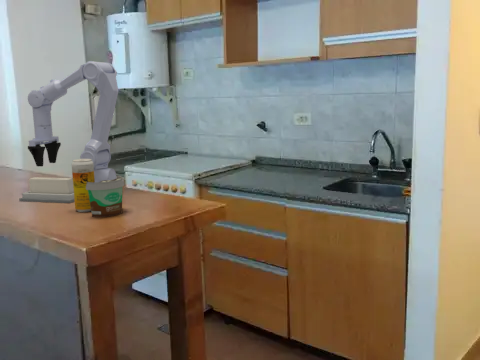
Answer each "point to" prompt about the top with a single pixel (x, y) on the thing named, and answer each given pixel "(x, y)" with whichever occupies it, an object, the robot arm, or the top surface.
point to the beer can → (82, 183)
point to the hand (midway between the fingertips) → (46, 164)
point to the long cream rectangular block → (51, 185)
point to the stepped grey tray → (47, 197)
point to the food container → (106, 197)
